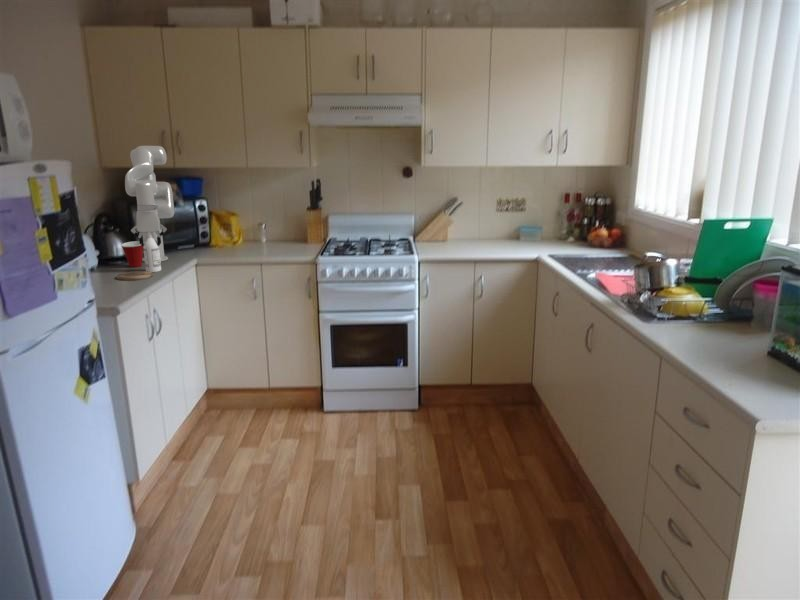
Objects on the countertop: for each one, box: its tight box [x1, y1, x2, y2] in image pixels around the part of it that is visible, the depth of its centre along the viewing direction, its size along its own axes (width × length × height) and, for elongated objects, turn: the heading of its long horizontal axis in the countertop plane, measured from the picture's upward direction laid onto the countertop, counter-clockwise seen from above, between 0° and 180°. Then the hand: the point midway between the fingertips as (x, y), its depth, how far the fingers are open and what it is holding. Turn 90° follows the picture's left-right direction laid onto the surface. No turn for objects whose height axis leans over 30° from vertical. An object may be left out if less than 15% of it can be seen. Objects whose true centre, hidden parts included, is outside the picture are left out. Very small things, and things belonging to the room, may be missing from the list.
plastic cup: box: [120, 240, 144, 268], centre depth 276 cm, size 11×11×12 cm
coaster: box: [116, 270, 153, 282], centre depth 256 cm, size 15×15×1 cm
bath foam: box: [143, 232, 162, 273], centre depth 266 cm, size 7×7×20 cm
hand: (150, 245), depth 265 cm, fingers closed on bath foam, 6 cm apart
